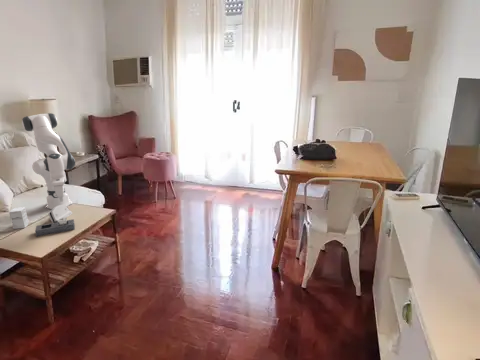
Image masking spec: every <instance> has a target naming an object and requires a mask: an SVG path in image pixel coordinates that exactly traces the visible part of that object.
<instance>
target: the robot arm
mask: <svg viewBox="0 0 480 360" xmlns="http://www.w3.org/2000/svg"><path fill="white" fill-rule="evenodd" d="M21 126H22V127H23V129H24V130H25V132H33V134H34V135H33V136H34V141H35V143H36V148H37V150H38V151H39V152H41V153H42V154H45V155H46V156H47V157H45V158H40V159H38V160H35V161H33V163H32V170H33V172H34V173H35V174H37V175H39V176H40V177H42V178H43V179H44V181H45V183H46V189H47V190H46V192H47V196H46V203H47V204H48V206H47V204H46V206H47V208H46V209H50V210H52V209H53V208H54V207H56V206H59V205H64V204H65V205H66V206H67V207H68V206H70V205H73V201H72V200H71V199H70V197H69V194H68V192H67V193H66V188H65V184H66V182H67V176H66V172H65V170H73V168H74V167H75V166H76V159H75V158H74V155H72V153H71V152H70V150H69V148H68V146H67V145H66V143H65V141H64V139H63V138H62V136H61V135H60V134H57V133H56V132H54V129H55V128H56V127H58V118H57V116H56V115H55V114H54V113H52V112H51V113H50V112H49V113H39V114H33V115H29V116H27V115H26V116H24V117H22V118H21ZM56 147H58V149H59V150H60V152H59V151H58V149H57V148H56Z"/></svg>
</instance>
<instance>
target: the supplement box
mask: <svg viewBox="0 0 480 360" xmlns="http://www.w3.org/2000/svg"><path fill="white" fill-rule="evenodd" d="M9 217H10V220H11V224H12V229H13V230H16V229H25V228H26V227H28V225H29V224H30V222H29V217H28V214H27V209H26V206H23V207H22V206H21V207H13V208H12V209H11V210H9Z"/></svg>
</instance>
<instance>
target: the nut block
mask: <svg viewBox="0 0 480 360" xmlns="http://www.w3.org/2000/svg"><path fill="white" fill-rule="evenodd" d="M67 218H68V217H67ZM67 218H61V219H59V223H60V226H61V225H66V224H67Z"/></svg>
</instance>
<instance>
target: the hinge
mask: <svg viewBox="0 0 480 360" xmlns="http://www.w3.org/2000/svg"><path fill="white" fill-rule="evenodd" d="M71 215H73V212H72V210H70V209H69V208H68V206H66V205H65V204H64V205H59V206H56V207H54V208H53V209H50V210H49V211H48V216H49V219H50V220H51V223H56V222H59V219H61V218H69V217H70V216H71Z"/></svg>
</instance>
